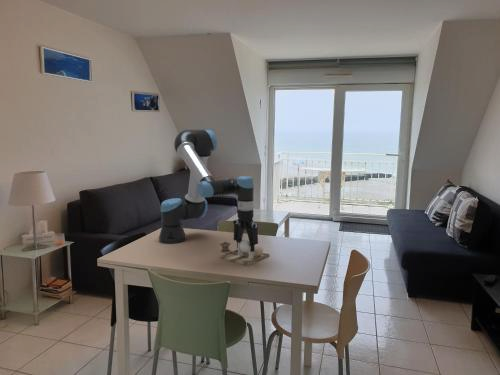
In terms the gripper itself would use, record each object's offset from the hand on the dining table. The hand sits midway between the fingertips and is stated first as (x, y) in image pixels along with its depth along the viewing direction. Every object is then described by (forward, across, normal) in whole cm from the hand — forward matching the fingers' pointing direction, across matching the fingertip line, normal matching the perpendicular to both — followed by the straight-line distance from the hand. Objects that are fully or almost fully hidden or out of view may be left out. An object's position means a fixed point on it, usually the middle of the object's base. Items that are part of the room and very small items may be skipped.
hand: (245, 256), depth 191 cm
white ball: (-2, 0, 0) cm, 2 cm away
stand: (+3, -18, +5) cm, 19 cm away
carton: (+3, -4, +4) cm, 7 cm away
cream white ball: (+2, 0, +8) cm, 9 cm away
